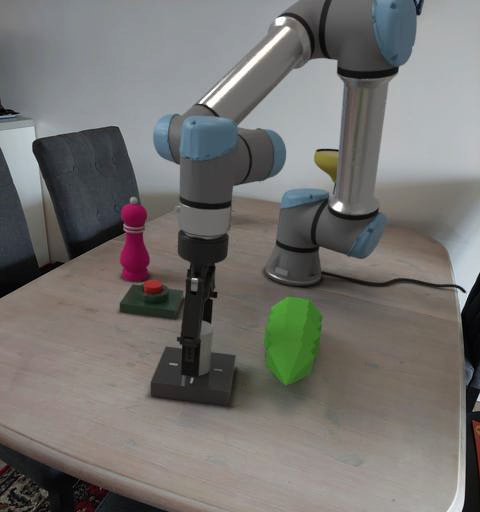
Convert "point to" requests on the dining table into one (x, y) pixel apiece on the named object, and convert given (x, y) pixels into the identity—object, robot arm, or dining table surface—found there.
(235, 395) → the dining table surface
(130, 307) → the button box
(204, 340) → the knob
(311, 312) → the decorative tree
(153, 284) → the button
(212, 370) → the panel
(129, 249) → the pepper mill
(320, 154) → the cocktail glass
